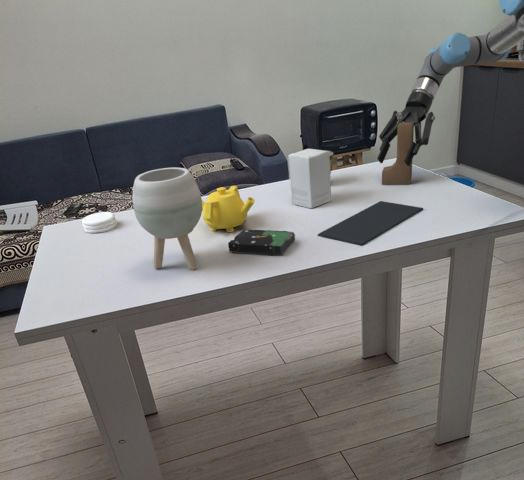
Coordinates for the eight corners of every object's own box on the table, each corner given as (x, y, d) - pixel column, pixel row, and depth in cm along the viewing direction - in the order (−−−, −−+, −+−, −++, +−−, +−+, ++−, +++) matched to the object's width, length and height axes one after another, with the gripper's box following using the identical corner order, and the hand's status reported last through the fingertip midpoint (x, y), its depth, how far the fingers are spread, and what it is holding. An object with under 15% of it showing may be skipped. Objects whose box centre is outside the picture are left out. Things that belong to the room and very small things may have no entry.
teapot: (181, 235, 153) (173, 196, 147) (212, 214, 166) (206, 178, 160) (243, 240, 145) (237, 199, 139) (270, 217, 158) (267, 179, 152)
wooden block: (381, 184, 174) (382, 126, 164) (383, 180, 177) (384, 123, 168) (410, 184, 171) (412, 124, 161) (411, 180, 174) (414, 121, 165)
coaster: (100, 220, 172) (97, 210, 170) (123, 223, 167) (121, 212, 165) (77, 232, 165) (74, 221, 163) (101, 235, 160) (97, 223, 158)
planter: (194, 246, 145) (179, 161, 133) (222, 264, 133) (208, 172, 121) (138, 264, 138) (117, 176, 126) (163, 284, 126) (142, 189, 114)
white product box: (332, 201, 165) (330, 150, 157) (311, 209, 161) (308, 157, 153) (311, 196, 171) (309, 147, 163) (291, 203, 167) (287, 154, 159)
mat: (423, 209, 151) (423, 207, 151) (361, 245, 134) (361, 243, 133) (380, 202, 159) (380, 200, 159) (317, 235, 142) (317, 234, 142)
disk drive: (228, 253, 138) (282, 256, 133) (227, 243, 137) (281, 245, 132) (244, 238, 146) (295, 240, 141) (243, 228, 145) (294, 230, 139)
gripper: (457, 105, 165) (428, 171, 164) (395, 104, 178) (368, 165, 178) (450, 89, 159) (420, 158, 158) (387, 89, 173) (359, 152, 172)
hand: (393, 162), depth 168 cm, fingers open, 9 cm apart
